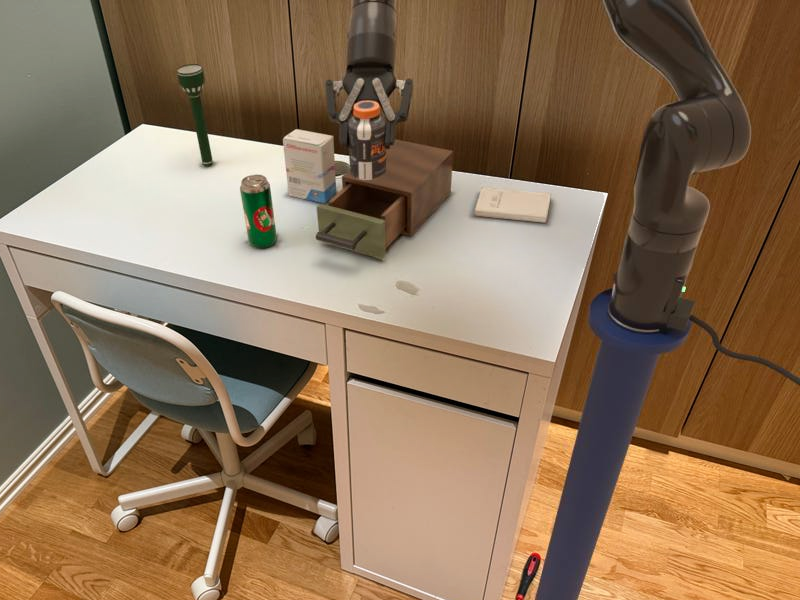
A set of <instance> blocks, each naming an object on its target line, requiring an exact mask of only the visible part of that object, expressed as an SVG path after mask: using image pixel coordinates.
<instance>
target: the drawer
mask: <svg viewBox="0 0 800 600" xmlns="http://www.w3.org/2000/svg"><path fill="white" fill-rule="evenodd" d="M316 214H317V217H316V218H317V226H318V227H317V228H318V232H317V233H315V240H316V241H319V242H322V243H324V244H327V245H328V244H329V245H332V246H335V247H339V248H342V249H346V250H350V251H353V252H356V253H360V254H363V255H366V256H371V257H374V258H378V259H381V260H383V259H384V258H385V257H386V255H387V254H386V249H387V248H388V247H389V246H390V245H391V244H392V243H394V241H395V240H396V239H397V238H398V236H400V235H401V234H400V233H401V232H402V231H403V230H404V229H405V228H406V227H407V196H405V195H400V194H396V193H392V192H388V191H384V190H380V189H375V188H371V187H367V186H363V185H359V184H354V183H349V184H348V185H346V186H345V187H344V188H343V189H340V191H338V192H336V194H335V195H334V196H333V197H332V198H331V199H329V200H328V201H327V204H324V203H319V204H318V205H317V206H316Z"/></svg>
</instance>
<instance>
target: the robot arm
mask: <svg viewBox="0 0 800 600" xmlns="http://www.w3.org/2000/svg"><path fill="white" fill-rule="evenodd" d="M601 3H602V5H603V8H604V10H605V13H606V15H607V18H608V21H609V23H610V25H611V28H612V29H613V33H614V34H615V35H616V37H617V38H618V39H619V41H621V42H622V43H623V44H624V46H626V47H627V48H628V49H629V50H630V51H631V52H633V53H634V54H636V56H637V57H639V58H640V59H642V60H644V62H646V63H647V64H649V65H650V66H651V67H652V68H654V69H655V70H656V71H658V73H660V74H661V75H662V76H663V78H665V80H667V81H668V83H669V84H670V86H671V87H672V89H673V91H674V93H675V95H676V96H677V98H678V101H675V102H670V103H669V102H668V103H666V104H663V105H660V106H659V107H658V108H657V109H655V110H654V112H652V114H651V116H650V117H649V119H648V121H647V123H646V126H645V128H644V131H643V135H642V138H641V139H642V140H641V144H640V149H639V154H638V161H637V167H636V170H635V171H636V172H635V176H634V181H633V199H634V201H633V202H634V203H633V208H632V212H631V215H630V219H629V224H628V227H627V232H626V235H625V239H624V243H623V248H622V251H621V256H620V260H619V263H618V267H617V271H616V272H615V273H614V274H612V279H611V283H613V282H614V283H613V287H612V288H613V291H612V295H611V297H610V302H609V304H608V308H607V313H608V316H609V318H610V319H611V320H612V321H613V322H614V323H615V324H616V325H618V326H619V327H621V328H623V329H625V330H628V331H631V332H634V333H640V334H655V333H661V334H665V335H666V334H667V333H668V331H669V328H674V329H677V330H681V331H685V328H686V326H687V323H688V321H689V320H691V323H693V324H696V325H697V326H699V327H701V328H702V329H703V330H704V331H706V332H707V333H708V334H709V336H710V337H711V341H712V345H713V346H714V348H715V349H716V350H717V351H718V352H720V353H721V354H723V355H724V356H727V357H730V358H732V359H737V360H742V361H748V362H752V363H756V364H760V365H762V366H765V367H767V368H769V369H771V370H773V371H775V372H776V373H778V374H780V375H781V376H783V377H785V378H787V379H788V380H789V381H791V382H793V383H794V384H796V385H797V386H799V387H800V378H799V376H797V375H796V374H793V373H792V372H791V371H789V370H787V369H785V368H784V367H781V366H780V365H778V364H777V363H775V362H773V361H770V360H768V359H766V358H762V357H760V356H755V355H752V354H751V355H750V354H745V353H740V352H736V351H733V350H730V349H727V348H726V347H724V345H722V344H721V343H720V339H719V335H718V333H717V332H716V331H715V329H713V328H712V327H711V325H709V324H708V323H707V322H705V321H704V320H702V319H700V318H698V317H696V316H695V315H694V314H693V310H694V307H695V305H696V301H695V300H692V299H688V298H684V297H683V295H684V293H685V291H686V285H687V281H688V280H689V279H688V278H689V276H690V273H691V270H692V267H693V264H694V258H695V255H696V252H697V249H698V246H699V243H700V240H701V237H702V234H703V231H704V228H705V225H706V223H707V220H708V216H709V213H710V209H711V204H710V201H709V199H708V197H707V196H706V195H705V194H704V193H702V192H701V191H700V190H698V189H696V188H694V187H692V186H689V182H690V178H691V176H694V175H700V174H704V173H708V172H712V171H716V170H720V169H724V168H728V167H730V166H733V165H735V164H738V163H739V162H740V161H741V160H742V159H743V158H744V157H745V156H746V154H747V152H748V150H749V148H750V144H751V140H752V139H751V138H752V126H751V121H750V117H749V113H748V111H747V108H746V106H745V103H744V102H743V99H742V98H741V95H740V94H739V92H738V90H737V89H736V87H735V85H734V83H733V82H732V80H731V78H730V77H729V76H728V74H727V72H726V70H725V69H724V67H723V65H722V64H721V62H720V60H719V59H718V57H717V55H716V53H715V51H714V49H713V48H712V46H711V43H710V41H709V40H708V37H707V35H706V33H705V31H704V29H703V27H702V25H701V23H700V20H699V18H698V16H697V13H696V11H695V10H694V8H693V5H692V3H691V1H690V0H601ZM396 11H397V0H351V5H350V17H349V22H348V28H347V29H348V31H347V37H346V39H347V47H346V48H347V51H346V68H345V69H346V70H345V75H344V77H343V78H342V80H337V81H333V80H332V79H327V80H326V81H325V83H324V85H325V95H326V105H327V106H326V107H327V115H328V117H329V120H330V122H331V123H336V124H338V142H339V144H340V146H342V148H343V150H349V136H348V123H349V120H350V119H351V118H352V117H353V116H354V114H353V112H354V105H355V104H356V103H358V102H360V101H375V102H377V103H378V104H379V106H380V108H381V109H380V110H381V111H382V113H383V116H384V117H385V120H386V130H385V149H390V145H394V142H395V139H396V127H397V125H398V124H399V123H405V122H407V121H408V118H409V113H410V107H411V104H412V103H411V102H412V98H413V93H414V81H413V79H412V78H406V79H405V80H402V79H397V77H396V76H395V63H396V61H395V59H396V44H397V43H396V42H397V40H396V39H397V17H396ZM396 89H397V90H398V94H399V96H401V100H400V106H399V111H395V112H394V110H393V108H392V105H391V101H390V100H389V98H390V96H391V95H392V94H393V93H394V91H395V90H396ZM342 90H344V92H345V93H346V94H347V95H348V97H347V98H346V100H345V102H344V106H343V108H342V110H341V111H340V112H339V111H338V107H337V98H338V97H339V96H340V94H341V91H342Z"/></svg>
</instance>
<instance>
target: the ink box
mask: <svg viewBox="0 0 800 600" xmlns="http://www.w3.org/2000/svg"><path fill="white" fill-rule="evenodd" d="M334 143H335V141H334V135H329V134H325V133H319V132H314V131H308V130H304V129H303V130H302V129H299V128H298V129H297V128H295V129H294V130H293V131H291V132H289V133H288V134H287V135H285V136H284V137H283V138H282V145H283V154H284V165H285V173H286V183H287V184H286V185H287V193H288V196H289V197H294V198H298V199H302V200H305V201H306V200H307V201H311V202H316V203H319V204H324V205H326V204H327V203H328V201H330V200H331V199H332V198H333V197H334V196H335V195H336V194H337V179H336V159H335V145H334Z"/></svg>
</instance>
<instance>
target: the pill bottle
mask: <svg viewBox="0 0 800 600" xmlns="http://www.w3.org/2000/svg"><path fill="white" fill-rule="evenodd" d="M380 108H381V106H379V104H378V103H377V102H375V101H360V102H358V103H356V104H355V105H354V112H353V114H354V115H353V116H352V118H351V119H350V120H349V123H348V136H349V147H348V158H349V161H348V162H349V170H350V173H351V175H352V176H353V177H355V178H357V179H360V180H373V179H377V178H380V177H381V176H383V175H384V174H385V172H386V149H385V130H386V122H387V120H386V118H384V117H385V116H384V115H381V109H380ZM383 116H384V117H383Z"/></svg>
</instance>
